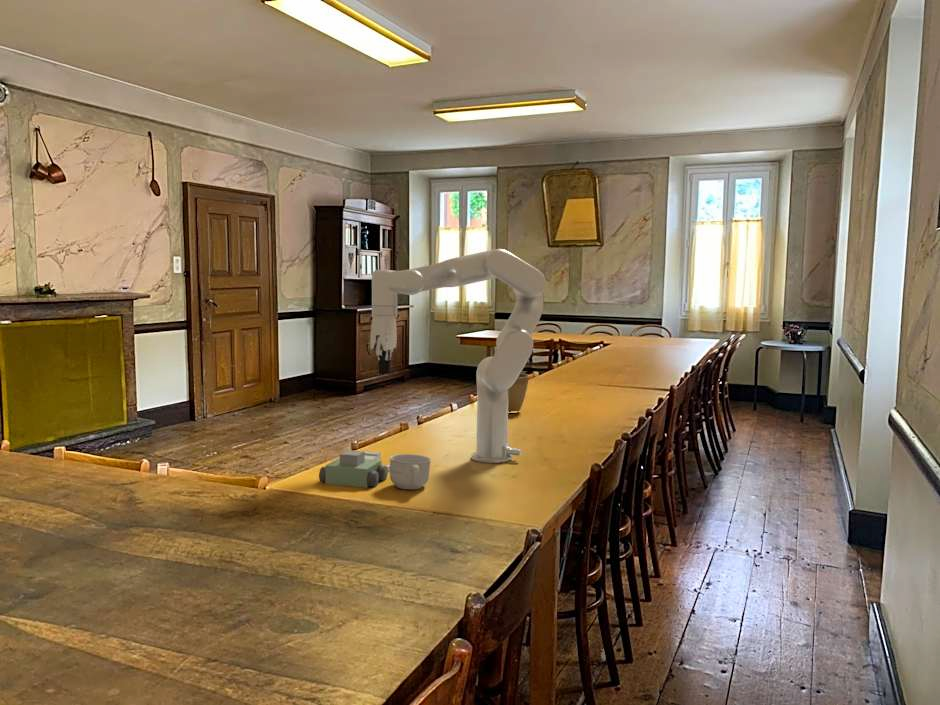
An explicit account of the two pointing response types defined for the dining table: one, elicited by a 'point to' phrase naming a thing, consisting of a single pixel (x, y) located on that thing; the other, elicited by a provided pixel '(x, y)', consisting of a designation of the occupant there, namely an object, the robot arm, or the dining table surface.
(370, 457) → the light grey box
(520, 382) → the plant pot
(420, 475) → the teacup
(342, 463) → the toy car
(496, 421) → the robot arm
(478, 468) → the dining table surface
